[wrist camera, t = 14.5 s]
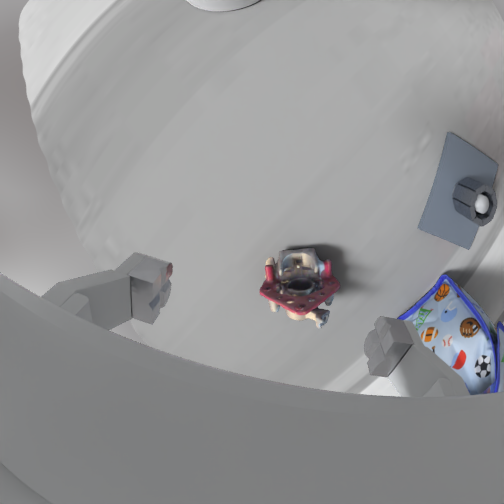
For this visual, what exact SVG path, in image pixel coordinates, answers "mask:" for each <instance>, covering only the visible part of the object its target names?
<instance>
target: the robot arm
mask: <svg viewBox="0 0 504 504" xmlns="http://www.w3.org/2000/svg"><path fill="white" fill-rule="evenodd" d="M186 1H187V2H188V3H190V4H191V5H193V6H195V7H197V8H199V9H203V10H207V11H231V10H236V9H240V8H243V7H246V6H249V5H252V4H254V3H256V2H258V1H259V0H186ZM172 268H173V266H172V263H170V262H167V261H163V260H160V259H157V258H154V257H151V256H147V255H145V254H141V253H138V252H135V253H133V254H132V255H131V256H130V257H129V258H128V259H127V260H125V261H124V262H123V263H122V264H121V265H120V266H119V267H118V268H117V269H116V270H107V271H103V272H99V273H95V274H91V275H87V276H82V277H78V278H74V279H70V280H66V281H63V282H58V283H57V284H56V285H54V286H53V287H52V288H51V289H50V290H49V291H47V293H45V294H44V295H43V296H42V297H40V296H38V295H36V294H34V293H33V292H31V291H29V290H28V289H26V288H24V287H23V286H21V285H19V284H18V283H16V282H14V281H13V280H11V279H10V278H8V277H7V276H5V275H3V274H2V273H0V504H504V392H496V393H488V394H479V395H470V393H469V391H468V389H467V387H466V385H465V382H464V380H463V378H462V377H461V376H460V375H459V374H457V373H456V372H455V371H454V370H453V369H452V368H451V367H450V366H449V365H447V364H446V363H445V362H444V361H443V360H442V359H441V358H440V357H438V356H437V355H436V354H435V353H434V352H433V351H432V350H430V349H429V348H428V347H425V346H424V344H423V342H422V340H421V338H420V336H419V334H418V332H417V330H416V328H415V326H414V324H413V323H412V322H411V321H407V320H400V319H394V318H389V317H383V316H380V317H379V318H378V319H377V320H376V322H375V324H374V325H375V329H374V330H372V331H371V332H369V334H368V336H367V337H366V340H365V344H364V352H365V355H366V356H367V357H368V358H369V361H368V362H367V364H368V368H369V372H370V375H374V376H382V377H388V380H389V381H390V382H391V384H392V385H393V386H394V388H395V389H396V390H397V392H398V393H399V394H400V396H401V397H394V396H376V395H364V394H353V393H343V392H335V391H327V390H320V389H313V388H307V387H300V386H295V385H289V384H283V383H278V382H273V381H268V380H263V379H259V378H254V377H250V376H246V375H242V374H237V373H233V372H230V371H226V370H222V369H218V368H215V367H211V366H208V365H204V364H201V363H197V362H194V361H191V360H187V359H184V358H181V357H178V356H175V355H172V354H169V353H166V352H163V351H160V350H158V349H155V348H152V347H149V346H146V345H144V344H141V343H138V342H136V341H133V340H131V339H128V338H126V337H123V336H121V335H118V334H116V333H114V332H111V331H109V330H110V329H112V328H114V327H116V326H118V325H120V324H122V323H124V322H126V321H128V320H130V319H132V318H134V319H137V320H140V321H143V322H146V323H149V324H152V325H153V323H154V322H155V320H156V318H157V317H158V315H159V314H160V308H162V307H164V306H165V304H166V303H167V301H168V298H169V296H170V291H171V282H170V280H169V277H170V276H171V275H172Z"/></svg>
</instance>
